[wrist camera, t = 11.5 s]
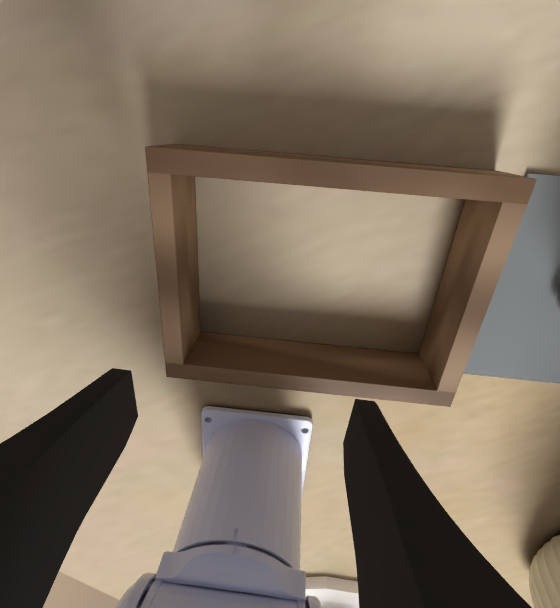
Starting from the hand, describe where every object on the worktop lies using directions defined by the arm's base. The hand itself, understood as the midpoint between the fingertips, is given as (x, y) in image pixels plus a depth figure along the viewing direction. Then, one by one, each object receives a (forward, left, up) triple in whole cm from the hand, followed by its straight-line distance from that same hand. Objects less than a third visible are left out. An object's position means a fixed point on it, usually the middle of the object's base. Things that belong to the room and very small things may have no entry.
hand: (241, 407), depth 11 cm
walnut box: (+1, -3, -10) cm, 11 cm away
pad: (+1, -17, -10) cm, 20 cm away
